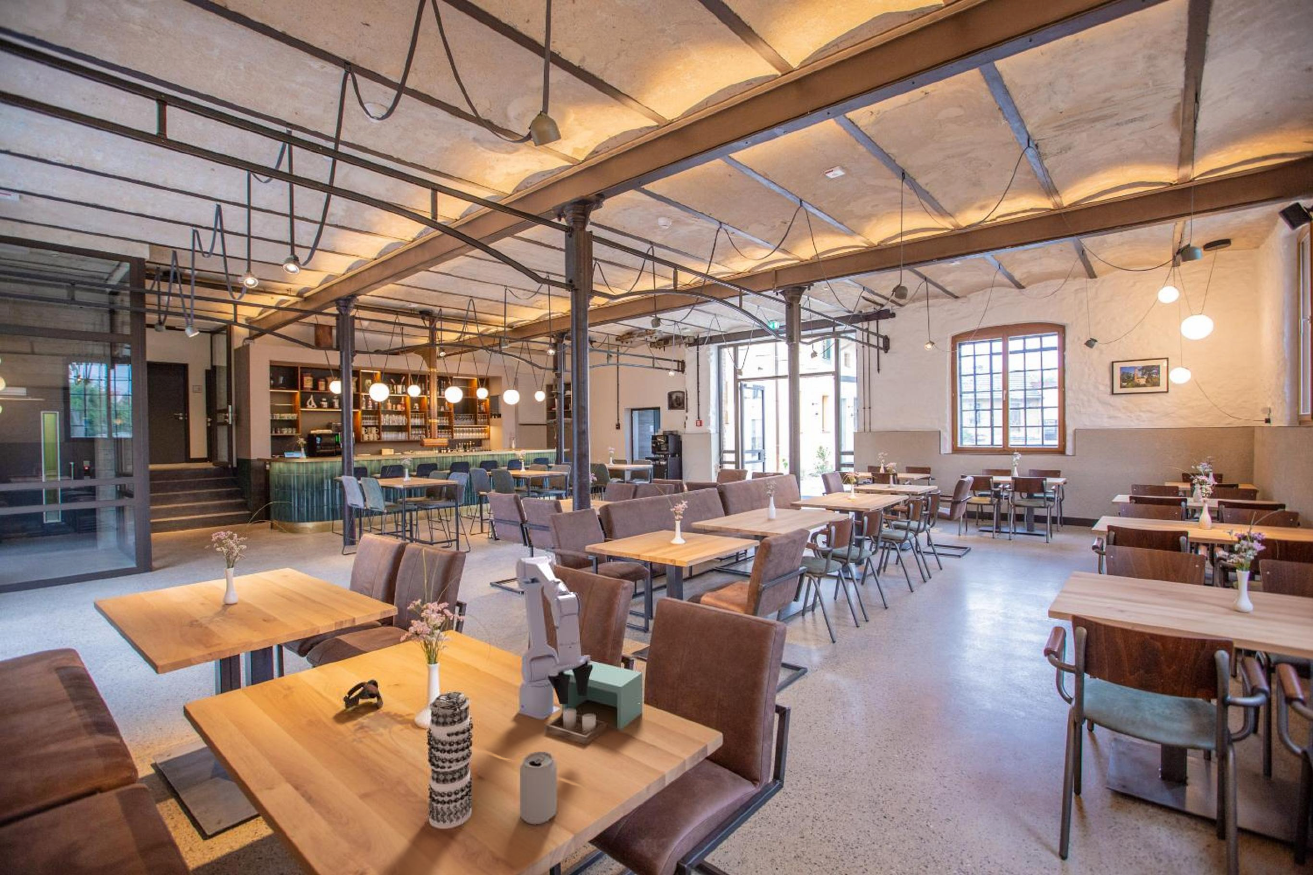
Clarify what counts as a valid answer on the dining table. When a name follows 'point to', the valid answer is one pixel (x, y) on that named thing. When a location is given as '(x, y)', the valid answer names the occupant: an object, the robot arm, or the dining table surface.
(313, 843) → the dining table surface
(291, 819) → the dining table surface
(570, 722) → the cup
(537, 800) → the can
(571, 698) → the box
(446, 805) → the decorative candle
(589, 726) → the pale pink cylinder
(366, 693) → the dark brown looped arch
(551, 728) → the tray
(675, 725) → the dining table surface
